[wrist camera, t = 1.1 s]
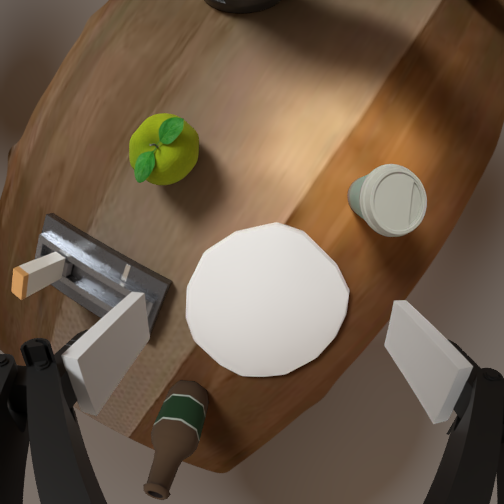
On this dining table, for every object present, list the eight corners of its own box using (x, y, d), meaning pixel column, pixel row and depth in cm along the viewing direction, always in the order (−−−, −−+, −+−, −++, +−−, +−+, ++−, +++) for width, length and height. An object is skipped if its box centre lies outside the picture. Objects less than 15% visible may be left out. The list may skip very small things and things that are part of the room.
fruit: (219, 149, 40) (205, 138, 30) (176, 196, 42) (151, 199, 32) (176, 110, 39) (152, 92, 29) (135, 157, 41) (103, 151, 31)
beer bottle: (174, 372, 49) (129, 473, 25) (215, 387, 49) (188, 494, 26) (167, 399, 51) (126, 493, 27) (204, 413, 51) (178, 512, 27)
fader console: (40, 269, 46) (29, 274, 42) (52, 213, 43) (40, 215, 40) (149, 337, 47) (141, 348, 44) (171, 280, 45) (164, 288, 41)
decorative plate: (266, 190, 38) (380, 314, 41) (266, 189, 42) (371, 304, 45) (148, 311, 42) (261, 405, 45) (157, 301, 46) (261, 391, 49)
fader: (54, 267, 43) (8, 288, 31) (58, 247, 42) (10, 265, 30) (69, 277, 43) (24, 302, 31) (74, 257, 42) (27, 279, 30)
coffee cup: (369, 236, 42) (403, 254, 30) (327, 201, 41) (350, 206, 29) (400, 193, 40) (442, 197, 28) (360, 156, 39) (393, 147, 28)
